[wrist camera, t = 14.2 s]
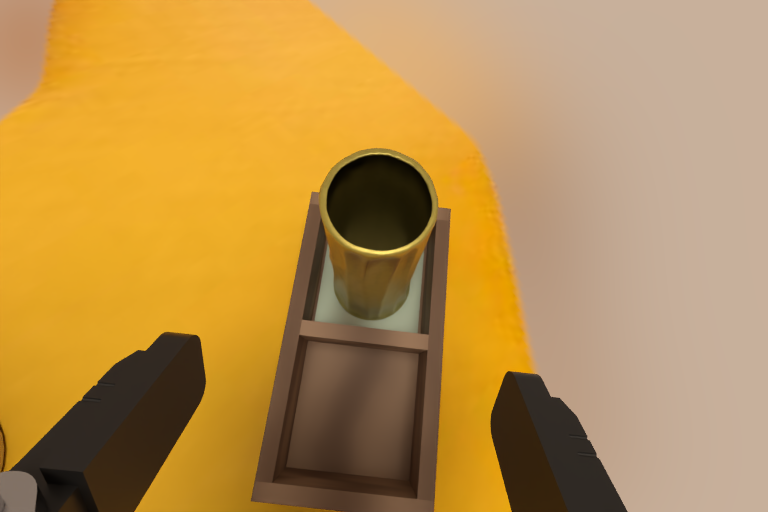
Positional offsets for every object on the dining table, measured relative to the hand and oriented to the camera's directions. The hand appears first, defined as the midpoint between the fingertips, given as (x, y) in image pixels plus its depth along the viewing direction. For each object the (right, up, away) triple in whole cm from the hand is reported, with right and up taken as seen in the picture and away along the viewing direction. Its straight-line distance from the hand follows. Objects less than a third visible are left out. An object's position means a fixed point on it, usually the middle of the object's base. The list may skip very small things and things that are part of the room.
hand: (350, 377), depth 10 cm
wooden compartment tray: (-1, -4, +19) cm, 20 cm away
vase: (0, +1, +20) cm, 20 cm away
